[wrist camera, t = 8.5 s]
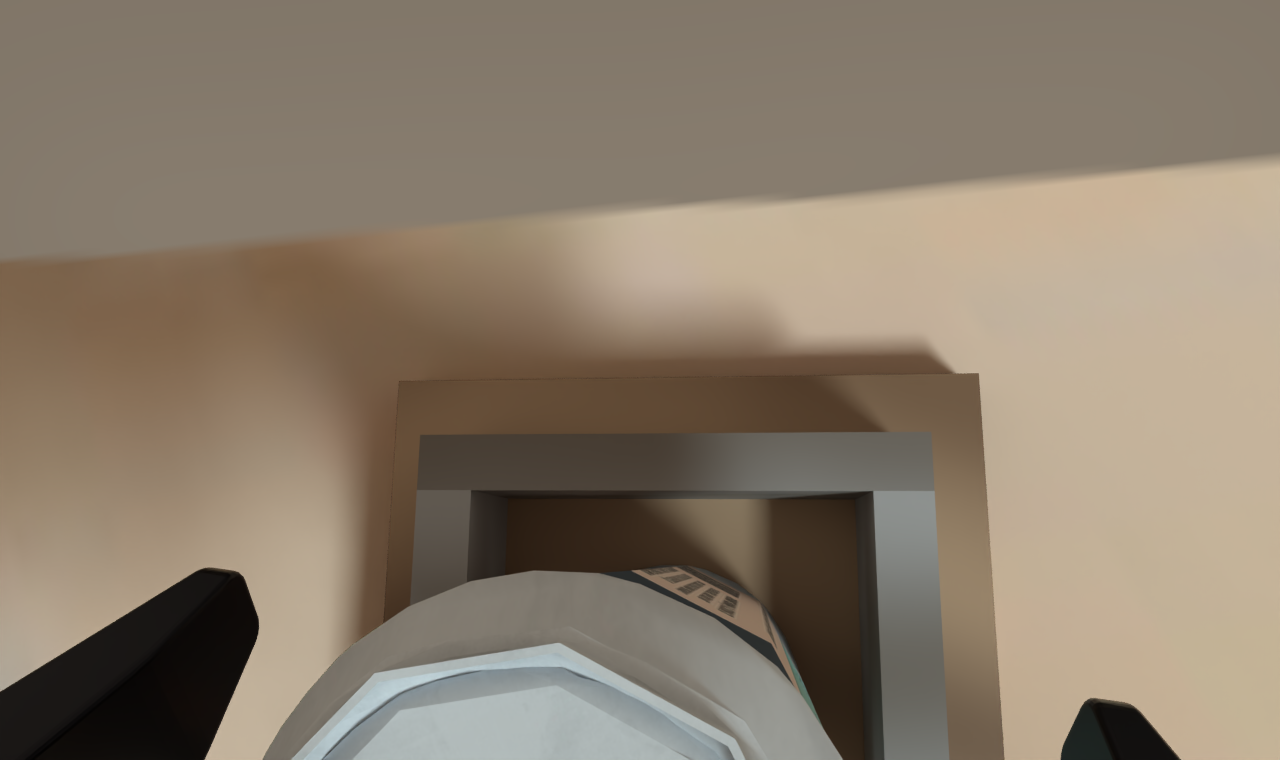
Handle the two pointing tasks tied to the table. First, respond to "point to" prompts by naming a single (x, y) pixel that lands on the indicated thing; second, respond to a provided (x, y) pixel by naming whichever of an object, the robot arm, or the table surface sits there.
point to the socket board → (736, 522)
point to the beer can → (566, 676)
